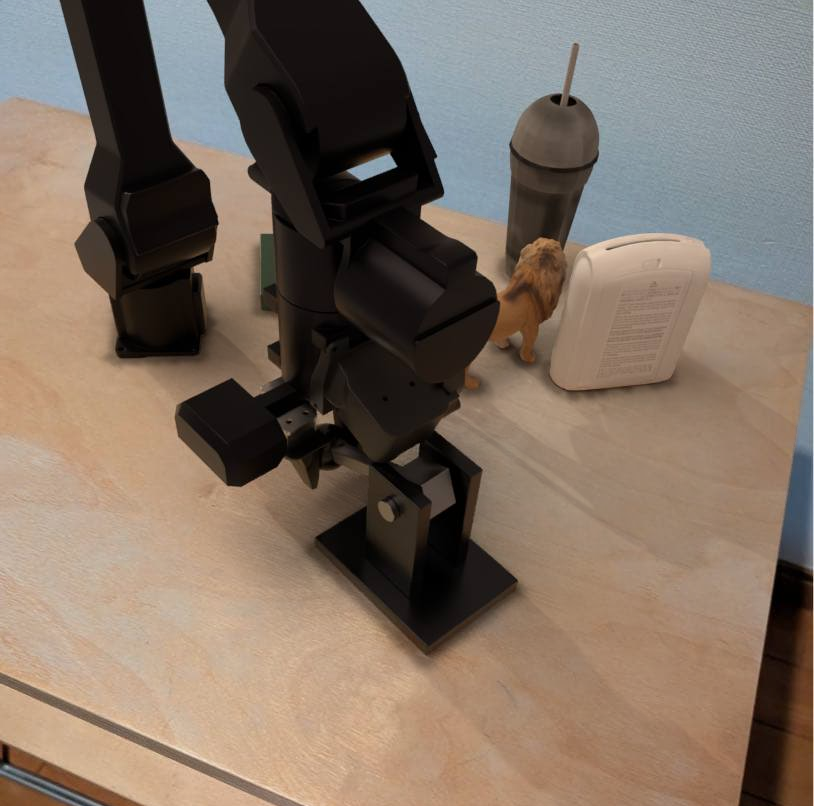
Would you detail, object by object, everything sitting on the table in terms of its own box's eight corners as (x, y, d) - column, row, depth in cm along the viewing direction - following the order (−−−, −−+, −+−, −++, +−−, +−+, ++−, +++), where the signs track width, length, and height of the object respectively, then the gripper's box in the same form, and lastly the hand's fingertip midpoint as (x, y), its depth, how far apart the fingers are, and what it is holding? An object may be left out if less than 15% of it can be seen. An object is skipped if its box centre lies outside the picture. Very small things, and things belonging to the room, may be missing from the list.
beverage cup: (569, 253, 84) (623, 22, 69) (570, 300, 80) (628, 64, 64) (491, 244, 84) (527, 11, 69) (488, 291, 80) (525, 53, 64)
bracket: (314, 548, 61) (312, 443, 53) (404, 492, 64) (413, 387, 57) (425, 657, 56) (440, 560, 48) (515, 590, 59) (542, 490, 52)
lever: (300, 472, 62) (287, 430, 60) (337, 451, 64) (325, 410, 62) (424, 530, 53) (413, 483, 51) (463, 504, 54) (454, 458, 53)
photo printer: (657, 350, 76) (704, 216, 66) (678, 384, 73) (730, 250, 64) (541, 362, 74) (572, 226, 65) (558, 398, 72) (593, 262, 62)
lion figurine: (519, 312, 78) (537, 218, 71) (566, 343, 76) (590, 249, 69) (395, 386, 71) (401, 289, 64) (443, 422, 69) (455, 326, 62)
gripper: (279, 435, 43) (291, 621, 55) (547, 291, 51) (506, 480, 63) (151, 317, 48) (188, 512, 60) (415, 204, 56) (400, 394, 68)
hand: (329, 474), depth 63 cm, fingers closed on lever, 3 cm apart
